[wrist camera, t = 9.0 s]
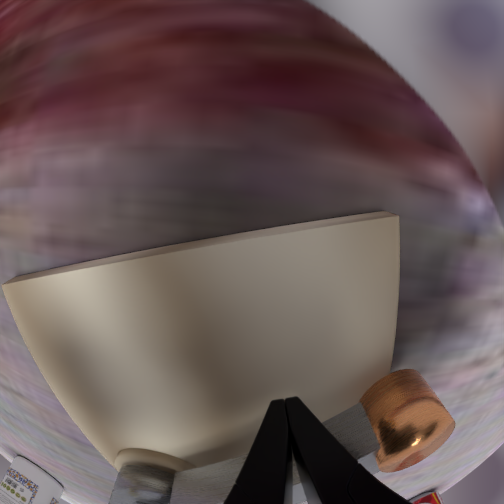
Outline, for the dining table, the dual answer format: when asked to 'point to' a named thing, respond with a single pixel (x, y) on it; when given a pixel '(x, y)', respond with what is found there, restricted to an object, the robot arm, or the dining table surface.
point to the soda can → (427, 498)
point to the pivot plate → (214, 335)
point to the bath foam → (28, 485)
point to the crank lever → (342, 428)
